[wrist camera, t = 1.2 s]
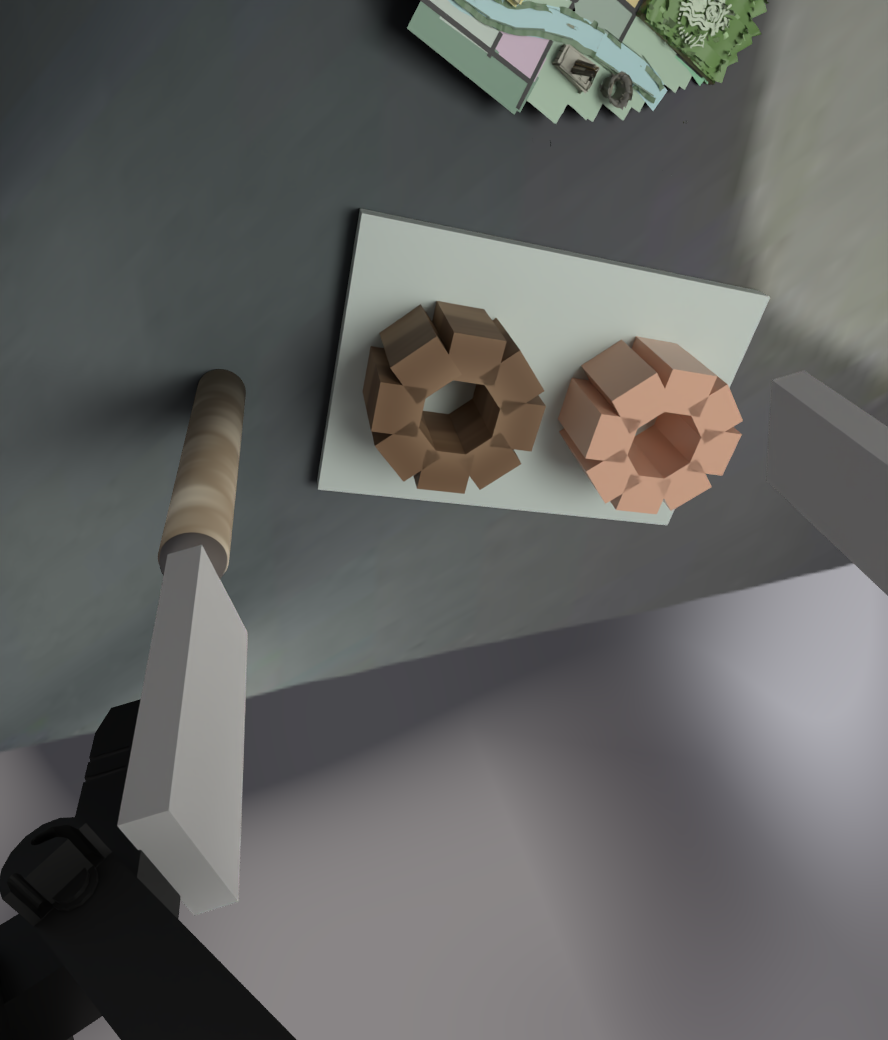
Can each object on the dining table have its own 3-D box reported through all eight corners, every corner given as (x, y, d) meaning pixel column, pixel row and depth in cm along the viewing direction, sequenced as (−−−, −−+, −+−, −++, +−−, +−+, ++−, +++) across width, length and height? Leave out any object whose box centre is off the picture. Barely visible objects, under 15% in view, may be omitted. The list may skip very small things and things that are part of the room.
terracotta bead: (543, 462, 47) (568, 504, 43) (588, 327, 42) (621, 360, 38) (666, 477, 49) (701, 519, 45) (721, 351, 45) (765, 384, 41)
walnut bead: (353, 439, 44) (361, 482, 39) (380, 290, 39) (392, 321, 35) (495, 456, 46) (516, 499, 42) (536, 318, 41) (563, 350, 37)
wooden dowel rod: (196, 409, 42) (152, 603, 28) (198, 366, 41) (154, 547, 27) (243, 415, 43) (224, 608, 29) (247, 373, 41) (229, 553, 27)
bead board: (317, 479, 46) (317, 489, 45) (359, 208, 38) (362, 212, 37) (660, 515, 52) (667, 525, 51) (759, 290, 44) (770, 296, 43)
